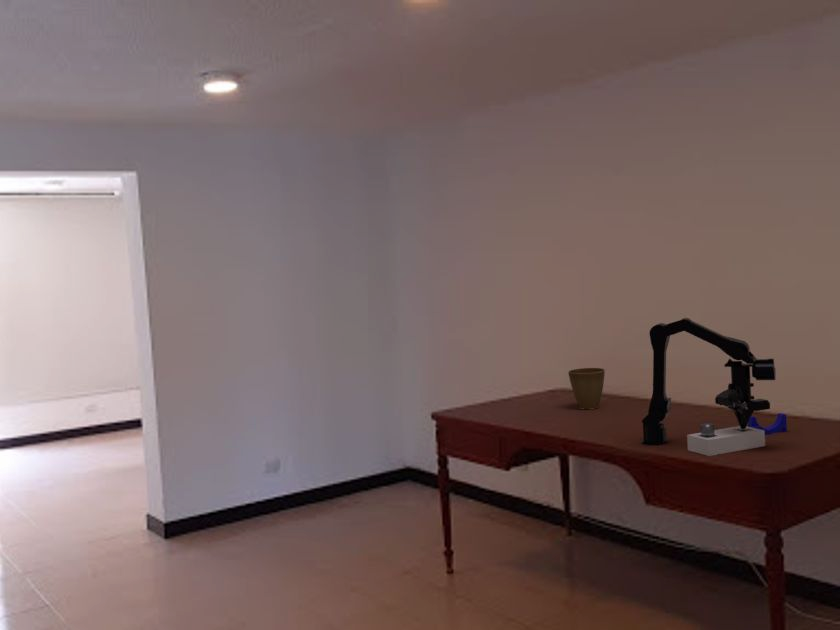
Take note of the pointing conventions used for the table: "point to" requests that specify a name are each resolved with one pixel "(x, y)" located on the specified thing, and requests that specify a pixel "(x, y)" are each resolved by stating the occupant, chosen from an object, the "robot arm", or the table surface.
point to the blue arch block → (777, 427)
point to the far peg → (743, 429)
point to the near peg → (707, 430)
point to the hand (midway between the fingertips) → (743, 428)
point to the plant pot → (587, 386)
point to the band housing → (726, 441)
